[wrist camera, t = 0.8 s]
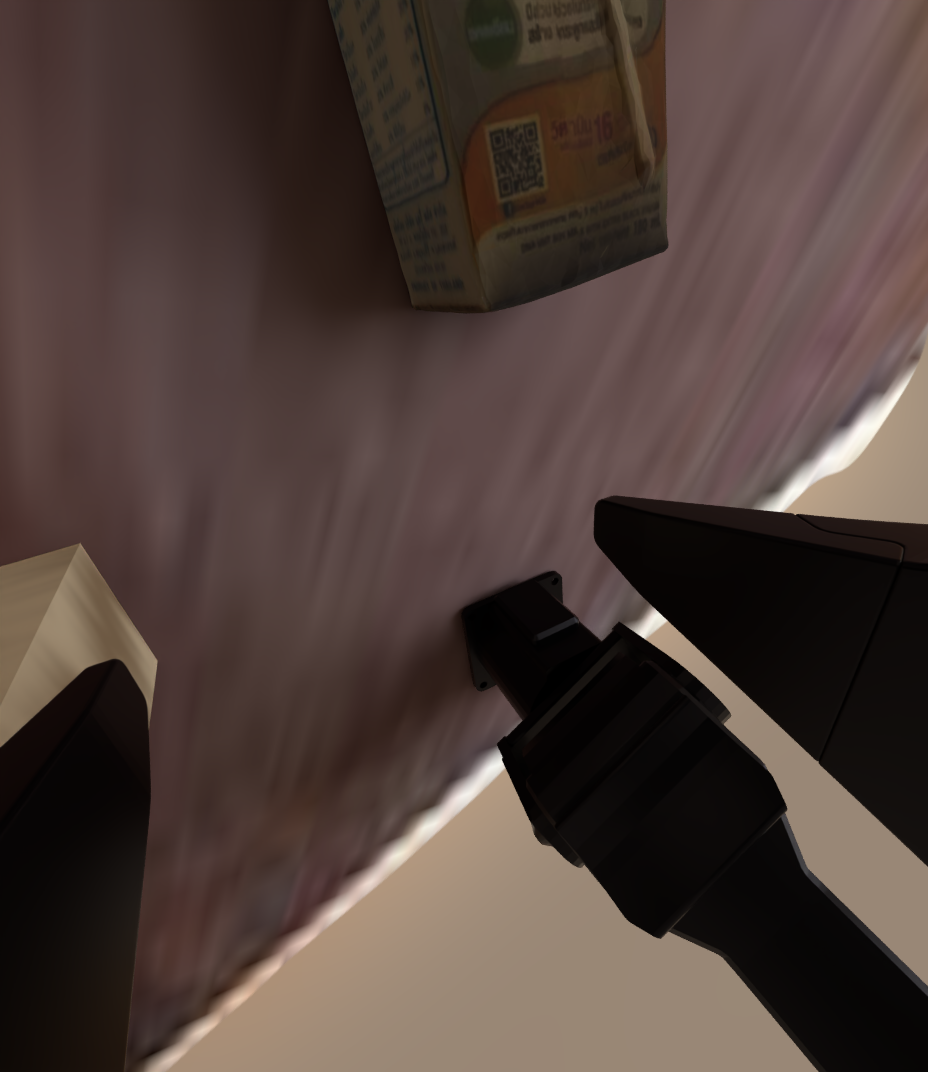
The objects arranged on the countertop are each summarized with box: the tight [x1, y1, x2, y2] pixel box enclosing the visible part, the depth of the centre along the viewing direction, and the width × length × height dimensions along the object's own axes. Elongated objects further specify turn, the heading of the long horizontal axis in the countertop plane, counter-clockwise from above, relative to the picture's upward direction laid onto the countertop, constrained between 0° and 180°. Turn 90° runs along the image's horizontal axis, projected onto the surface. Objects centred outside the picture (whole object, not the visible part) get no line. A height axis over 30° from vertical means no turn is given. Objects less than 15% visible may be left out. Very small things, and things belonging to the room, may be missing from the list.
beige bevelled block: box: [0, 543, 158, 747], centre depth 14 cm, size 6×4×10 cm, turn 8°
